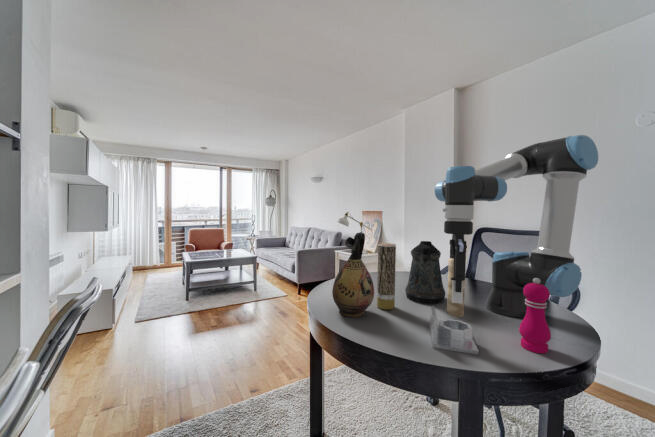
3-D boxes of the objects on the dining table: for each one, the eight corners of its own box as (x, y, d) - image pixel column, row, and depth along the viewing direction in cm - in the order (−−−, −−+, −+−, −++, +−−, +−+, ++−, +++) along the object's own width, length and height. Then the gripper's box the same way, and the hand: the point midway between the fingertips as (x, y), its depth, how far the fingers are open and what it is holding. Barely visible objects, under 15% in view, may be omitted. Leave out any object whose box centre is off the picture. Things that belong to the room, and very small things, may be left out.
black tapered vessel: (433, 292, 132) (434, 239, 131) (457, 306, 113) (459, 244, 112) (399, 293, 130) (400, 239, 129) (418, 307, 111) (419, 244, 110)
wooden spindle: (462, 312, 84) (464, 258, 83) (465, 317, 79) (466, 261, 79) (445, 310, 85) (447, 257, 84) (447, 315, 81) (449, 260, 80)
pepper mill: (512, 342, 83) (514, 275, 82) (535, 341, 83) (538, 274, 83) (532, 355, 75) (535, 281, 75) (557, 354, 76) (560, 281, 75)
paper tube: (393, 304, 114) (394, 243, 113) (395, 310, 107) (397, 245, 106) (376, 304, 115) (377, 243, 114) (377, 310, 108) (378, 245, 107)
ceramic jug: (364, 324, 94) (366, 235, 93) (324, 315, 102) (325, 232, 101) (380, 308, 109) (382, 232, 108) (345, 302, 116) (346, 230, 115)
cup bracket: (469, 335, 87) (470, 309, 87) (478, 354, 75) (479, 325, 75) (430, 330, 90) (430, 305, 90) (432, 347, 79) (433, 319, 78)
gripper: (441, 219, 91) (439, 290, 91) (448, 220, 74) (445, 308, 75) (466, 219, 89) (464, 292, 89) (480, 221, 72) (476, 311, 73)
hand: (455, 299), depth 82 cm, fingers closed on wooden spindle, 4 cm apart
